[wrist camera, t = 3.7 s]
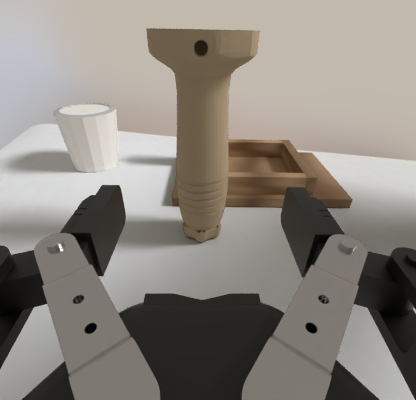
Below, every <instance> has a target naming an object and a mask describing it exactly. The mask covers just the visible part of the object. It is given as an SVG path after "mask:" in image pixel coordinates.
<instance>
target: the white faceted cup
mask: <svg viewBox="0 0 416 400" xmlns="http://www.w3.org/2000/svg"><path fill="white" fill-rule="evenodd" d="M54 116H55V119H56V121H57V124H58V126H59V129H60V131H61V134H62V137H63V139H64V142H65V144H66V147H67V149H68V152H69V154H70V157H71V159H72V162H73V164H74V167H75V169H77V170H78V171H81V172H86V173H91V172H101V171H106V170H109V169H111V168H114V167H115V166H117V165H118V163H119V161H120V158H119V145H118V131H117V118H116V108H115V107H114V106H112V105H109V104H101V103H85V104H75V105H70V106H65V107H61V108H58V109H56V110H55V111H54Z"/></svg>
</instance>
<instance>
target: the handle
mask: <svg viewBox="0 0 416 400" xmlns="http://www.w3.org/2000/svg"><path fill="white" fill-rule="evenodd" d="M259 32H260V31H248V30H202V29H147V39H148V47H149V52H150V54H151V55H152V56H153V57H155V58H156V59H157V60H158V61H160V62H162V63H163V64H165V65H166V66H168V67H169V68H171V69H172V70H173V72H174V73H175V79H176V87H177V157H176V173H177V174H176V179H177V192H178V200H179V206H180V211H181V215H182V218H183V220H184V223H183V230H184V233H185V235H186V236H187V237H192V238H194V239H196V240H197V241H198V242H205V241H206V240H208V239H210V238H216V237H217V236H218V235H219V233H220V229H221V225H220V220H221V219H222V216H223V212H224V208H225V203H226V196H227V188H228V172H229V170H228V108H229V107H228V104H229V86H230V79H231V74H232V73H233V72H234V70H235V69H237V68H238V67H240V66H242V65H243V64H245V63H247V62H248V61H250V60H251V59H252V58H253V57H254V56H255V55H256V54H257V50H258V41H259Z"/></svg>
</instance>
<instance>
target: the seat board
mask: <svg viewBox="0 0 416 400" xmlns="http://www.w3.org/2000/svg"><path fill="white" fill-rule="evenodd" d="M228 170H229V172H228V188H227V196H226V203H225V206H229V207H283V202H284V197H285V192H286V189H287V187H304V188H305V189H306V190H307V192H308V194H309V195H310V197H315V198H317V199H318V200H320V201H321V202H322V203H324V205H325V206H326V207H329V208H349V207H350V205H351V202H352V198H351V197H350V196H349V195H348V194H347V193H346V191H345V190H344V189H343V188H342V187H341V186H340V185H339V183H338V182H337V181H336V180H335V179H334V178H333V177H332V175H331V174H330V173H329V172H328V171H327V170H326V168H325V167H324V166H323V165H322V164H321V163H320V162H319V160H318V159H317V158H316V157H315V156H314V155H313V154H312V153H298V152H297V150H296V149H295V148H294V146H293V145H292V144H291V143H290V141H289V140H229V139H228ZM172 201H173V206H179V200H178V192H177V179H176V181H175V186H174V191H173V196H172Z"/></svg>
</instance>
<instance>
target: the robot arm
mask: <svg viewBox="0 0 416 400" xmlns="http://www.w3.org/2000/svg"><path fill="white" fill-rule="evenodd" d="M125 218H126V214H125V208H124V203H123V197H122V192H121V188H120V186H119V185H102V186H101V188H100V189H99V191H98V192H97V194H96V195H91V196H89V197H88V198H86V199H85V200H83V201H82V202H81V204H80V205H79V207H78V209H77V210H76V211H75V212H74V214H73V215H72V217H71V218H70V219H69V221H68V222H67V224H66V225H65V226H64V228H63V229H62V231H61V232H60V233H59V234H54V235H51V236H49V237H46V238H45V239H43V240H41V241H40V242H39V243H38V244H37V245H36V247H35V249H34V250H32V251H28V252H23V253H18V254H13V255H11V253H10V251H9V249H8V248H7V247H5V246H1V245H0V368H1V367H2V365H3V363H4V361H5V359H6V357H7V356H8V354H9V352H10V350H11V348H12V346H13V345H14V343H15V341H16V339H17V337H18V335H19V334H20V332H21V330H22V328H23V326H24V324H25V323H26V321H27V319H28V317H29V315H30V313H31V312H32V310H33V308H34V307H37V306H40V305H44V304H48V307H49V310H50V313H51V317H52V320H53V323H54V327H55V330H56V333H57V336H58V340H59V343H60V346H61V350H62V353H63V356H64V359H65V361H64V362H63V363H62V364H61V365H60V366H59V367H58V368H56V369H55V370H54V371H53V372H52V373H51V374H50V375H49V376H48V377H46V378H45V379H44V380H43V381H42V382H41V383H40V384H39V385H38V386H36V387H35V388H34V389H33V390H32V391H31V392H30V393H29V394H28V395H26V396H25V397H24V398H23V399H22V400H379V399H378V398H377V397H376V396H375V395H374V394H373V393H371V392H370V391H369V390H368V389H367V388H366V387H365V386H364V385H363V384H362V383H361V382H360V381H358V380H357V379H356V378H355V377H354V376H353V375H352V374H351V373H350V372H349V371H348V370H347V369H345V368H344V367H343V366H342V365H341V364H340V363H339V362H338V361H337V360H336V357H337V354H338V351H339V348H340V345H341V342H342V338H343V335H344V332H345V329H346V326H347V323H348V320H349V316H350V313H351V310H352V307H353V304H356V305H360V306H364V307H367V308H368V310H369V311H370V313H371V315H372V317H373V319H374V321H375V323H376V325H377V327H378V329H379V331H380V333H381V335H382V337H383V339H384V340H385V342H386V344H387V346H388V348H389V350H390V352H391V354H392V356H393V358H394V360H395V362H396V364H397V366H398V367H399V369H400V371H401V373H402V375H403V377H404V379H405V381H406V383H407V385H408V387H409V389H410V391H411V393H412V395H413V396H414V398H415V400H416V314H415V312H414V311H413V309H412V308H413V307H414V308H415V309H416V250H414V249H410V248H396V249H394V250H393V251H392V253H391V255H390V256H386V255H381V254H377V253H372V252H368V251H367V248H366V247H365V245H364V244H363V243H362V242H360V241H359V240H357V239H356V238H353V237H351V236H348V235H345V234H344V233H343V231H342V230H341V228H340V227H339V225H338V224H337V222H336V221H335V220H334V218H333V217H332V215H331V214H330V212H329V211H328V209H327V208H326V206H325V205H324V203H322V202H321V201H320V200H318V199H317V198H315V197H310V195H309V194H308V192H307V190H306V189H305V188H304V187H287V189H286V192H285V197H284V202H283V207H282V212H281V224H282V227H283V230H284V232H285V235H286V237H287V240H288V242H289V245H290V248H291V250H292V253H293V255H294V258H295V260H296V263H297V265H298V268H299V270H300V273H301V275H302V277H305V278H304V279H303V281H302V283H301V285H300V287H299V288H298V290H297V292H296V294H295V296H294V297H293V299H292V301H291V303H290V305H289V306H288V308H287V310H286V312H285V313H283V312H282V311H280V310H278V309H276V308H274V307H272V306H269V305H267V304H263V303H260V298H259V294H227V295H223V296H219V297H214V298H210V299H206V300H199V299H194V298H190V297H186V296H181V295H177V294H145V298H144V303H141V304H137V305H134V306H132V307H130V308H127V309H125V310H124V311H122V312H120V313H119V314H118V312H117V310H116V308H115V306H114V305H113V303H112V301H111V299H110V297H109V295H108V294H107V292H106V290H105V288H104V286H103V284H102V282H101V281H100V279H99V277H98V276H103V275H104V273H105V271H106V268H107V266H108V263H109V261H110V258H111V256H112V254H113V251H114V249H115V246H116V244H117V241H118V239H119V236H120V234H121V232H122V229H123V227H124V224H125Z"/></svg>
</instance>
